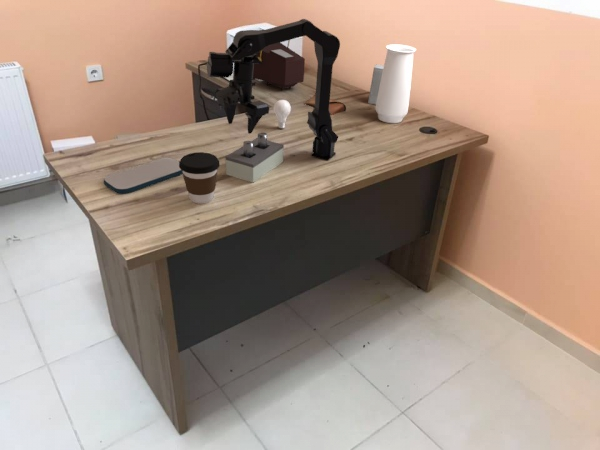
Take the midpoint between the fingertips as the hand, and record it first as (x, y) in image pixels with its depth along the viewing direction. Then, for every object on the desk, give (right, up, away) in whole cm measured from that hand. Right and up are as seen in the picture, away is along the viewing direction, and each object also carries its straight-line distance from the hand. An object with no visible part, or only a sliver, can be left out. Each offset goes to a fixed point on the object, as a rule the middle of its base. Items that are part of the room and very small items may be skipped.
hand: (239, 128), depth 153 cm
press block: (+4, -11, +5) cm, 13 cm away
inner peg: (+6, -6, +6) cm, 11 cm away
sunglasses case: (+29, +20, +58) cm, 67 cm away
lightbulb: (+12, +7, +35) cm, 37 cm away
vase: (+55, +13, +50) cm, 76 cm away
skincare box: (+53, +24, +66) cm, 88 cm away
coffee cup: (-9, -22, -13) cm, 27 cm away
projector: (+9, +35, +79) cm, 87 cm away
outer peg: (+3, -10, 0) cm, 10 cm away
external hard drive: (-28, -16, -3) cm, 32 cm away
